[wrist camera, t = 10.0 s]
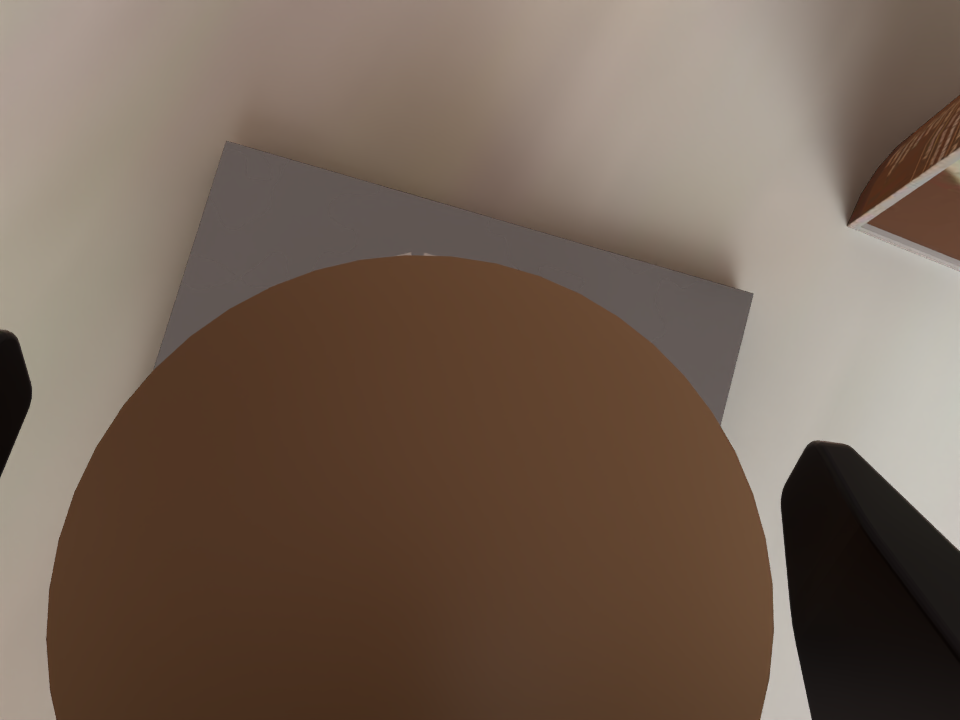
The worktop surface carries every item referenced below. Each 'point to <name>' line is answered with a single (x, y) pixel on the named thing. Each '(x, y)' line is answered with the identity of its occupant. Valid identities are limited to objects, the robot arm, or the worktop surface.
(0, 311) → the worktop surface
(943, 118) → the food container
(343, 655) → the brown wooden cylinder
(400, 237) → the bracket
